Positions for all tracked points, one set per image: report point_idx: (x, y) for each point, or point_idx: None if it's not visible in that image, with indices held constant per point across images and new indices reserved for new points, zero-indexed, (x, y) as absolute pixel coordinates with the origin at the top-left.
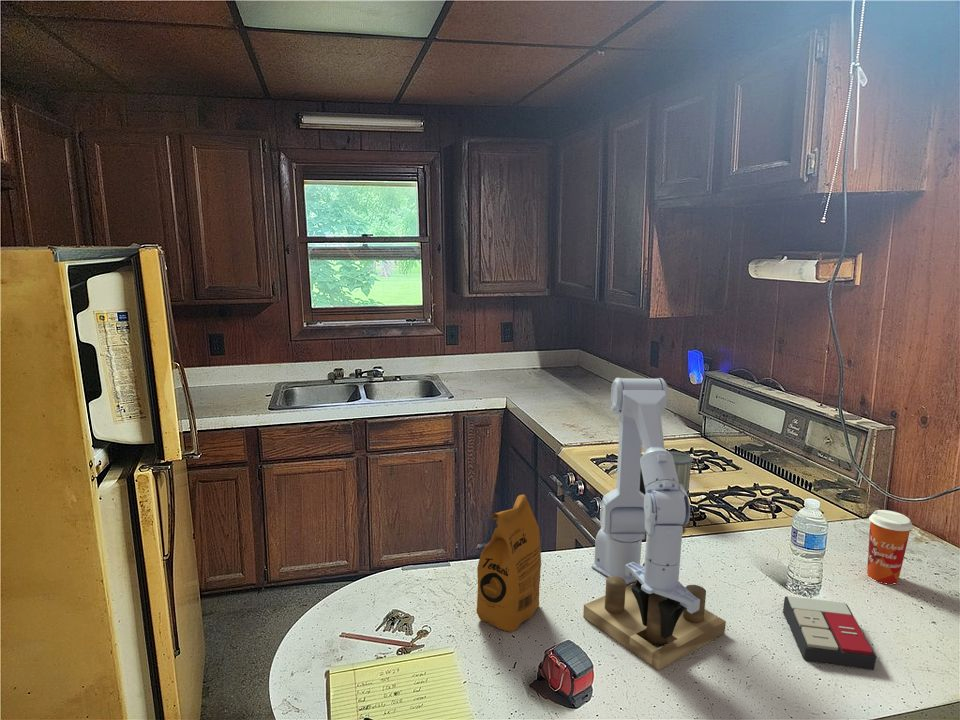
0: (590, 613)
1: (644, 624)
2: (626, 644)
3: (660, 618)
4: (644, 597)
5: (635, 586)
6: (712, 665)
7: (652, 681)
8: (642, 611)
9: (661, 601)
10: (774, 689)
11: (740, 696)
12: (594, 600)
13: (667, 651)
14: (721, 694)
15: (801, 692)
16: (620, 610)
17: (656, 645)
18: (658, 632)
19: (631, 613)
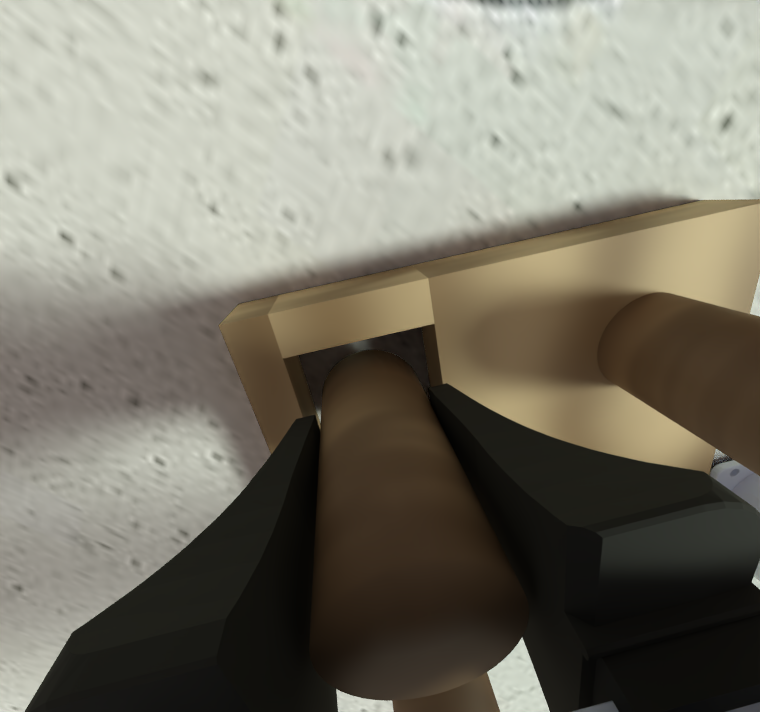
0: (700, 211)
1: (435, 388)
2: (432, 263)
3: (323, 487)
4: (527, 527)
5: (727, 558)
6: (216, 501)
7: (173, 228)
8: (474, 422)
9: (240, 703)
10: (59, 595)
11: (30, 497)
12: (755, 283)
13: (251, 387)
14: (47, 447)
15: (38, 643)
16: (611, 351)
17: (331, 371)
18: (326, 414)
19: (567, 394)
